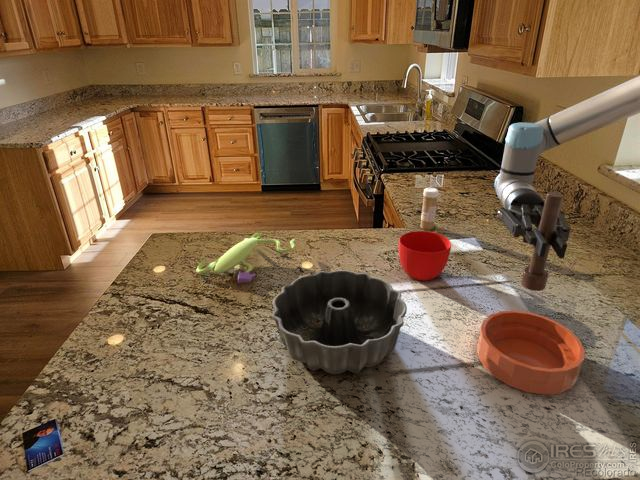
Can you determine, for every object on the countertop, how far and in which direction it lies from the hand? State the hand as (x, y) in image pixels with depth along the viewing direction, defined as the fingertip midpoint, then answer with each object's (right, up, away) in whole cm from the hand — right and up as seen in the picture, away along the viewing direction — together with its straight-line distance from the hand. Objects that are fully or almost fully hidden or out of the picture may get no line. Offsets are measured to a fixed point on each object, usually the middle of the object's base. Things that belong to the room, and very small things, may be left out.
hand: (553, 250), depth 75 cm
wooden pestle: (+1, -7, +9) cm, 12 cm away
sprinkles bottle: (-6, +5, +64) cm, 65 cm away
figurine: (-61, -5, +44) cm, 75 cm away
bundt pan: (-37, -20, +13) cm, 44 cm away
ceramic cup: (-13, -7, +39) cm, 42 cm away
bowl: (-2, -22, +7) cm, 23 cm away
